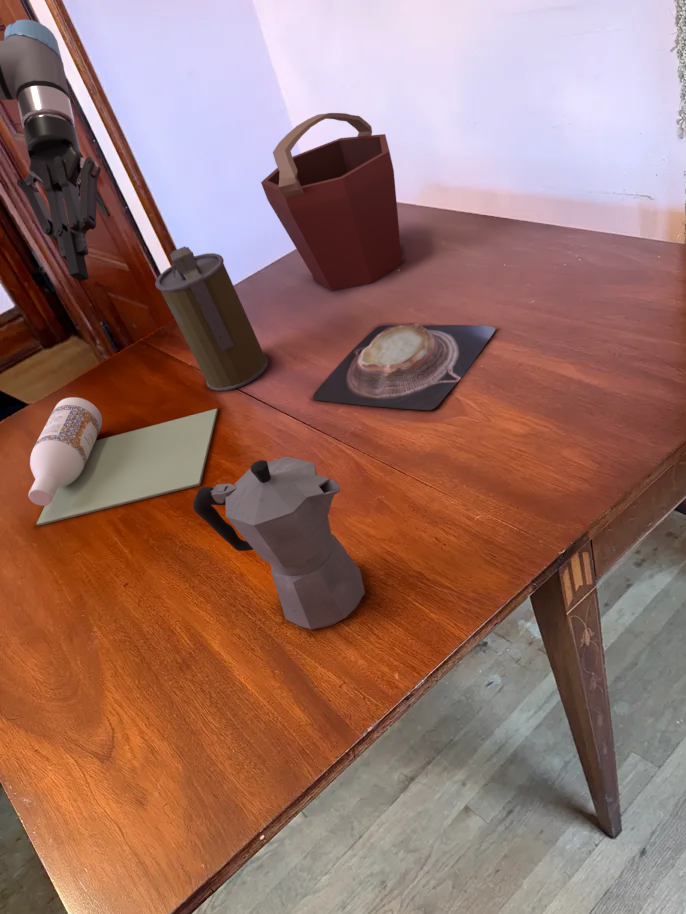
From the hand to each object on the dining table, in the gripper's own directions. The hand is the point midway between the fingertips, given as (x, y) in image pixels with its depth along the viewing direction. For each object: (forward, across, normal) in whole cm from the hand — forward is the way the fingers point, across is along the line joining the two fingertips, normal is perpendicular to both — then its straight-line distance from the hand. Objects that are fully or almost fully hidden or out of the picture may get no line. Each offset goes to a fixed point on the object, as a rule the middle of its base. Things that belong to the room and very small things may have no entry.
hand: (79, 276), depth 113 cm
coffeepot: (+55, -33, +28) cm, 70 cm away
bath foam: (+20, +5, -2) cm, 21 cm away
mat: (+31, -4, +4) cm, 32 cm away
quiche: (+25, -45, -2) cm, 52 cm away
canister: (+18, -18, -10) cm, 27 cm away
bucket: (-2, -38, -30) cm, 48 cm away
